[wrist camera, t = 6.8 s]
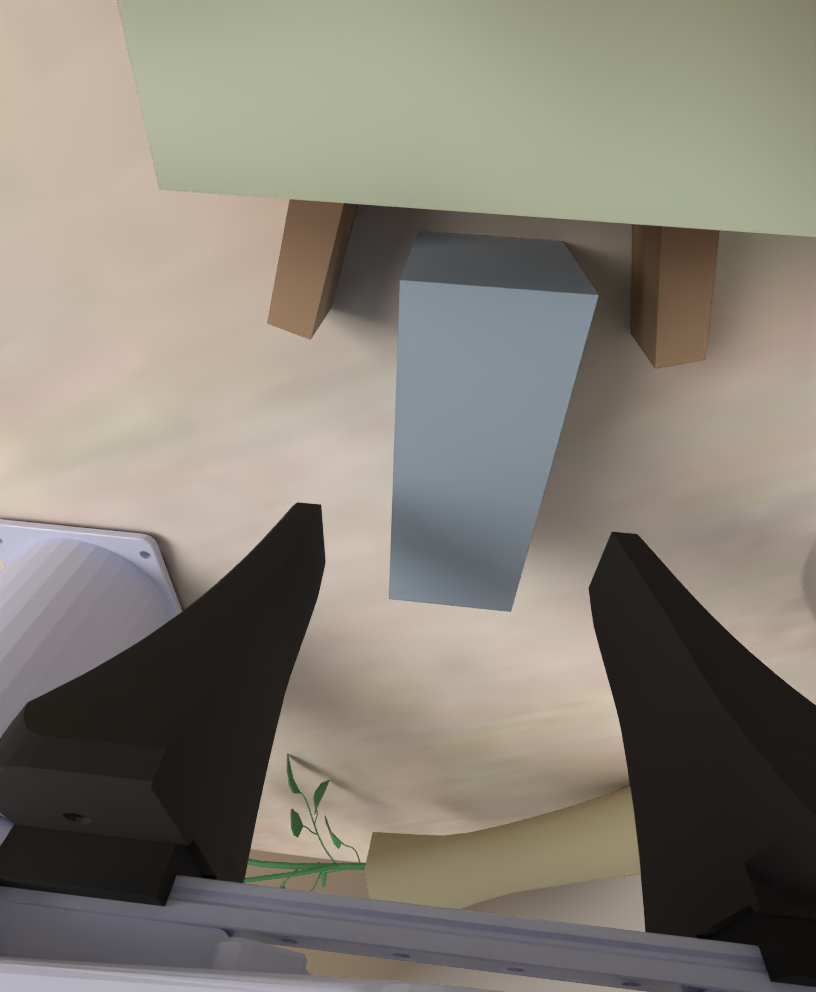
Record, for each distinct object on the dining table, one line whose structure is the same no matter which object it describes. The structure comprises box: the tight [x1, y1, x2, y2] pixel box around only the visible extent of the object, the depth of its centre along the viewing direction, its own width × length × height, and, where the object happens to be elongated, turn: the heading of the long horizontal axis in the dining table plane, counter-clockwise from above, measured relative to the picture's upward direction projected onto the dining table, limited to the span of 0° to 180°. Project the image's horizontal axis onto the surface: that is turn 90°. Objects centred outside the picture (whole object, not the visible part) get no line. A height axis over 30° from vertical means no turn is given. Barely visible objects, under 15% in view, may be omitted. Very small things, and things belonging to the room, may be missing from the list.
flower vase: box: [243, 754, 641, 909], centre depth 33 cm, size 12×12×35 cm
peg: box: [389, 231, 599, 612], centre depth 15 cm, size 10×4×5 cm, turn 178°
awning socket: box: [117, 0, 816, 369], centre depth 9 cm, size 10×12×7 cm
